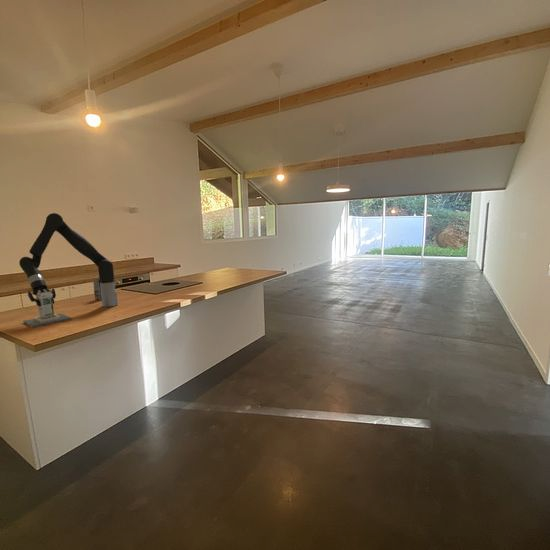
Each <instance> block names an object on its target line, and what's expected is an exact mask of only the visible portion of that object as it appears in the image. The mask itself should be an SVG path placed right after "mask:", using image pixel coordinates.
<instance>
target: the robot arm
mask: <svg viewBox="0 0 550 550" xmlns="http://www.w3.org/2000/svg"><path fill="white" fill-rule="evenodd" d="M55 232H56V233H58V234H60V235H61V236H62V237H63V238H64V239H65V240H66V242H67V243H68V244H70V246H72V247H73V248H74V249H75V250H77V252H78V253H80V254H81V255H82V256H84V257H86V258H87V259H89V260H90V261H91V262H93V264H94V265H96V267H97V271H98V279H100V288H101V297H102V300H101V305H102V307H103V308H109V307H115V306H118V305H119V302H118V293H117V291H116V284H115V274H114V272H115V271H114V264H113V262H112V260H109V259H108V258H107V257H105V256H104V255H103V254H101V253H100V252H99V251H98V249H96V248H95V247H94V245H92V243H91V242H90V241H89V240H87V238H85V237H84V236H83V235H81V234H80V233H78V232H76V230H74V229H72V228H71V227H70V226H69V225H68V224H67V223H66V222H65V221H64V219H63V216H62V215H60V214H59V213H56V212H52V213H50V214H48V215H47V216H46V219H45V222H44V224H43V228H42V230H41V231H40V233H39V235H38V236H37V238H36V240H34V242H33V244H32V246H31V247H30V248H29V254H31V255H32V257H29V256H23V257H21V258H19V259H20V260H19V263H18V264H19V267H20V269H22V271H23V272H24V273H25V274H26V276H27V278H28V283H29V286H30V288H31V290H32V291H28V292H27V297H28V299H29V300H30V301H31V302H32V303H33V302H34V303H35V304H36V306H37V307H38V306H39V307H40V306H41V304H40V301H39V300H38V296H37V293H43V292H51V294H52V302H53V305H54V304H55V299H56V296H57V294H56V290H55V288H51V289H50V288H48V285H47V283H46V280H45V279H44V277H43V275H42V273H41V271H40V270H39V269H38V268H39V267H40V265H41V261H42V257H43V254H44V252H45V251H46V249H47V247H48V245H49V243H50V241H51V239H52V237H53V235H54V234H55ZM33 295H34V296H35V297H34V296H33Z"/></svg>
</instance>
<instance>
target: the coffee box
mask: <svg viewBox="0 0 550 550" xmlns="http://www.w3.org/2000/svg"><path fill="white" fill-rule="evenodd" d="M92 280H93V281H92V282H93V292H94V293H93V295H94V300H95V299H99V300H98V301H102V297H101V288H100V279H99V278H95V279H92Z"/></svg>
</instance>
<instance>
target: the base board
mask: <svg viewBox="0 0 550 550" xmlns="http://www.w3.org/2000/svg"><path fill="white" fill-rule="evenodd" d="M70 319H72V320H73V318H72V317H71V316H69V315H66V314H63V313H54V316H49V317H40V316H35V317H34V318H31V319H26V320H25V319H24V320H22V321H23V322H24V323H23V322H22V323H23V324H25V323H26V324H25V325H27V324H28V325H27V326H29V325H30V326H32V327H35V328H38V327H37V326H40V327H43V326H42V325H44V326H48V325H47V324H49V325H52V324H51V323H54V324H57V323H56V322H58V323H61V322H60V321H63V322H66V321H65V320H68V321H71V320H70ZM30 326H29V327H30ZM32 327H31V328H32Z"/></svg>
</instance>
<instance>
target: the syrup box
mask: <svg viewBox="0 0 550 550" xmlns="http://www.w3.org/2000/svg"><path fill="white" fill-rule="evenodd" d="M37 296H38V300H39V301H40V304H41V306H40V307H39V306H37V307H38V313H39V317H49V316H54V314H55V311H54V304H53V302H52V293H51V292H43V293H37Z"/></svg>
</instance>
